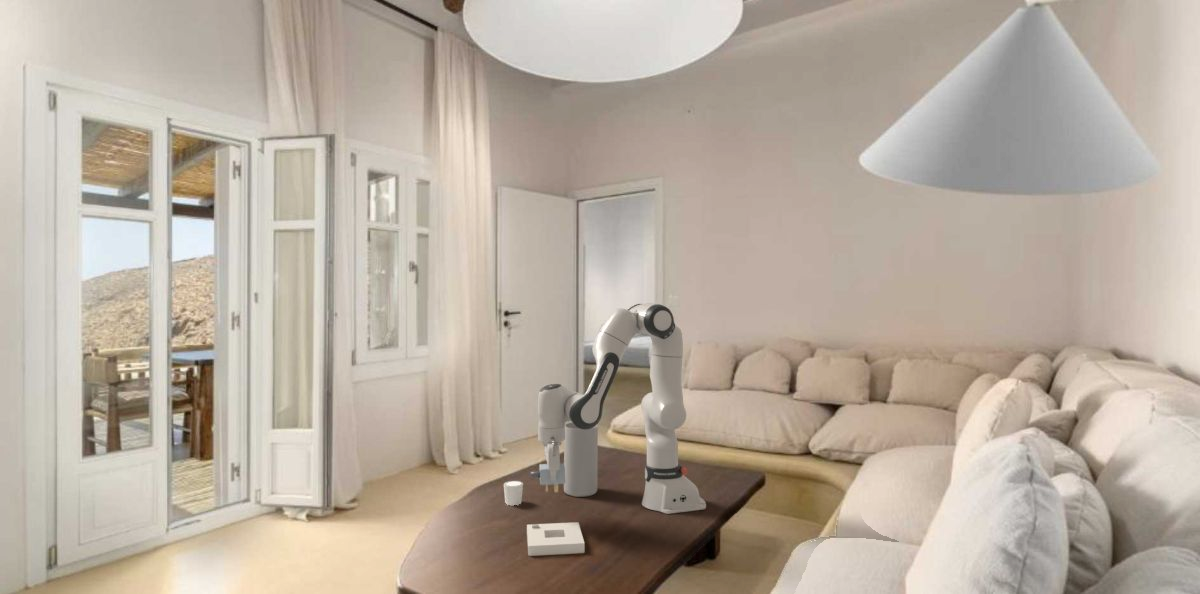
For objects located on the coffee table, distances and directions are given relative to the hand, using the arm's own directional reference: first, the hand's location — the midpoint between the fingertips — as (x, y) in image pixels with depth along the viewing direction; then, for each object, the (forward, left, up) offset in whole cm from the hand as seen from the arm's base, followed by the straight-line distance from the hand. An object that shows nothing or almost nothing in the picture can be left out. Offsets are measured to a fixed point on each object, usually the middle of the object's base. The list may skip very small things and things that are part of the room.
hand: (552, 476), depth 198 cm
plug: (+1, 0, -5) cm, 5 cm away
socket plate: (0, +18, -14) cm, 23 cm away
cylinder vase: (-13, -27, -15) cm, 33 cm away
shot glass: (+13, -18, -15) cm, 26 cm away
